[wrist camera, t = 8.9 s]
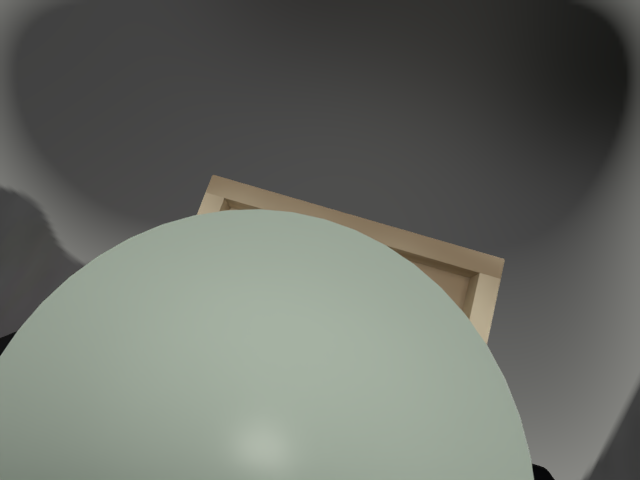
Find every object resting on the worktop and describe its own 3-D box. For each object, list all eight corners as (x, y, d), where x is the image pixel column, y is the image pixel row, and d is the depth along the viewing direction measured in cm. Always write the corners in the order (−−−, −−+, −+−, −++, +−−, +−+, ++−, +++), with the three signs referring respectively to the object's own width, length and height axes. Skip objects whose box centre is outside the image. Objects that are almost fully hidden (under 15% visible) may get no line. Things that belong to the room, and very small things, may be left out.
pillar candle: (310, 516, 16) (272, 1090, 3) (189, 404, 17) (-183, 535, 4) (409, 380, 17) (647, 442, 5) (290, 283, 18) (221, 117, 6)
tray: (405, 646, 16) (415, 683, 14) (91, 529, 17) (63, 550, 15) (487, 268, 19) (504, 259, 17) (222, 190, 20) (212, 174, 18)
